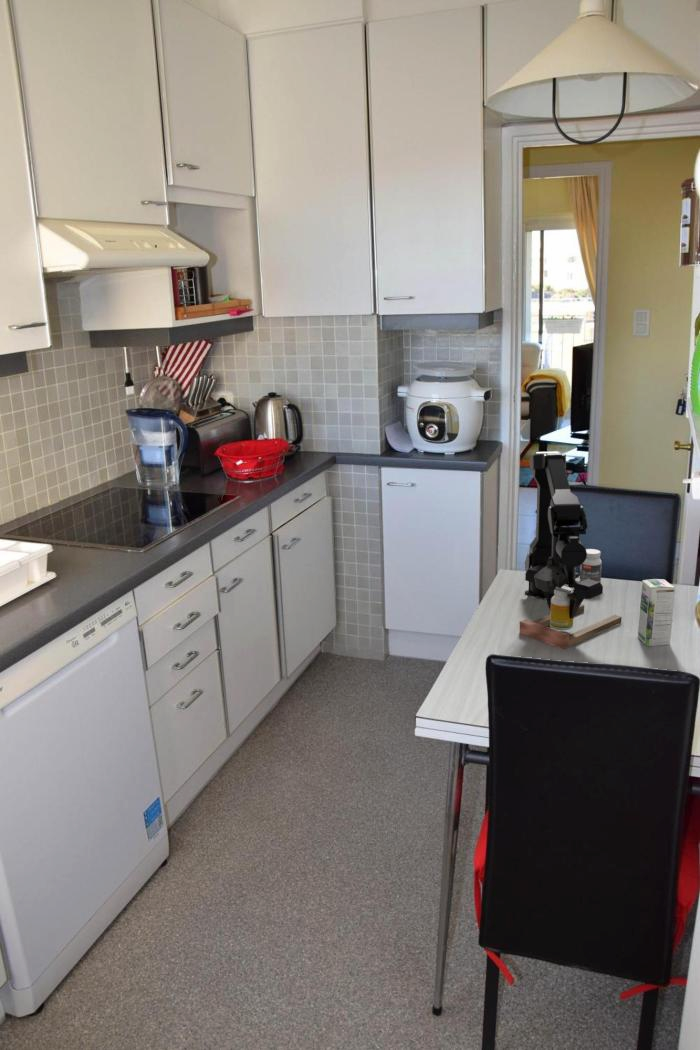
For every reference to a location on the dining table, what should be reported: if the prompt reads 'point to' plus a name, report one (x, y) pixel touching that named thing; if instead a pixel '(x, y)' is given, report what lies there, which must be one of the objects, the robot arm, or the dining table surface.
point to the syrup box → (656, 612)
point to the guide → (563, 640)
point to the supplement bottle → (560, 609)
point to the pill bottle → (591, 566)
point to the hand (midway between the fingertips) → (561, 614)
